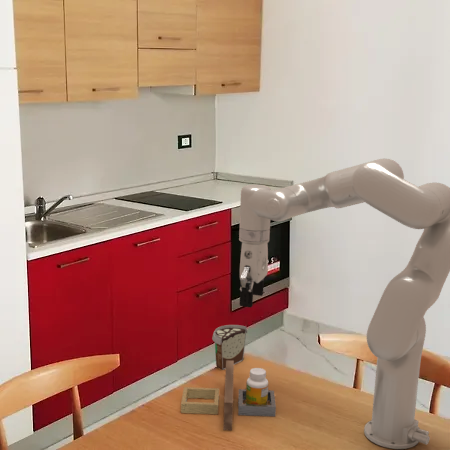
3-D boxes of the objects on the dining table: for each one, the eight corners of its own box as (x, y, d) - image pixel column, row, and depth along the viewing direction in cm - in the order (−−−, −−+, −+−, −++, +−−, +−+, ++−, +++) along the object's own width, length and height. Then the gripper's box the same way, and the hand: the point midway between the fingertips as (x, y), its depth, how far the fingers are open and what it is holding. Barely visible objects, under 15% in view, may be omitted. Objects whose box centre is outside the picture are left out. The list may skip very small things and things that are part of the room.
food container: (229, 353, 210) (231, 321, 207) (246, 358, 206) (247, 326, 204) (202, 365, 200) (203, 332, 198) (219, 371, 196) (220, 337, 194)
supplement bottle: (241, 407, 177) (242, 370, 174) (255, 400, 180) (256, 364, 178) (257, 414, 173) (259, 377, 171) (271, 407, 177) (273, 371, 175)
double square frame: (273, 399, 181) (274, 390, 180) (275, 416, 172) (275, 407, 172) (183, 396, 181) (183, 387, 181) (180, 412, 172) (181, 403, 172)
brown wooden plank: (232, 385, 188) (233, 360, 187) (231, 430, 165) (233, 402, 163) (225, 384, 188) (226, 360, 187) (223, 430, 165) (224, 402, 163)
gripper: (259, 244, 166) (256, 313, 170) (277, 229, 182) (274, 292, 186) (229, 240, 169) (226, 309, 172) (249, 226, 185) (247, 288, 188)
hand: (251, 300), depth 179 cm, fingers open, 9 cm apart
